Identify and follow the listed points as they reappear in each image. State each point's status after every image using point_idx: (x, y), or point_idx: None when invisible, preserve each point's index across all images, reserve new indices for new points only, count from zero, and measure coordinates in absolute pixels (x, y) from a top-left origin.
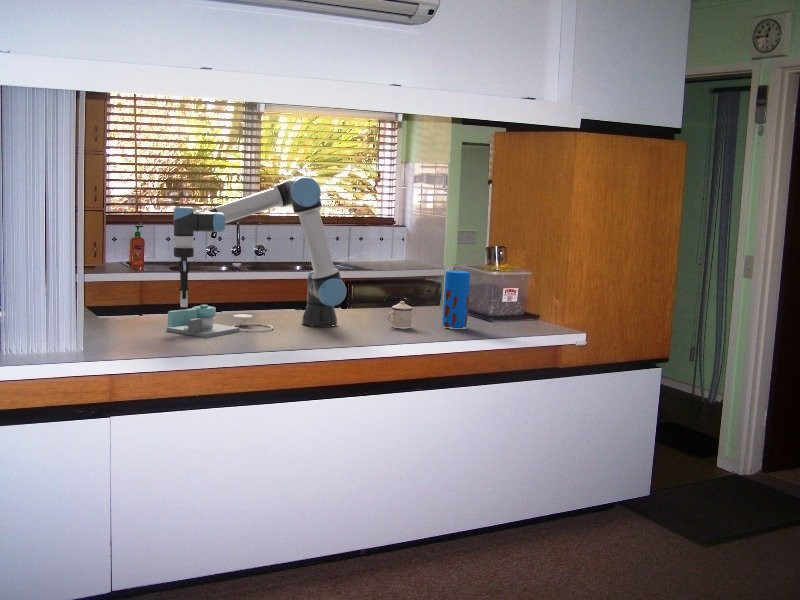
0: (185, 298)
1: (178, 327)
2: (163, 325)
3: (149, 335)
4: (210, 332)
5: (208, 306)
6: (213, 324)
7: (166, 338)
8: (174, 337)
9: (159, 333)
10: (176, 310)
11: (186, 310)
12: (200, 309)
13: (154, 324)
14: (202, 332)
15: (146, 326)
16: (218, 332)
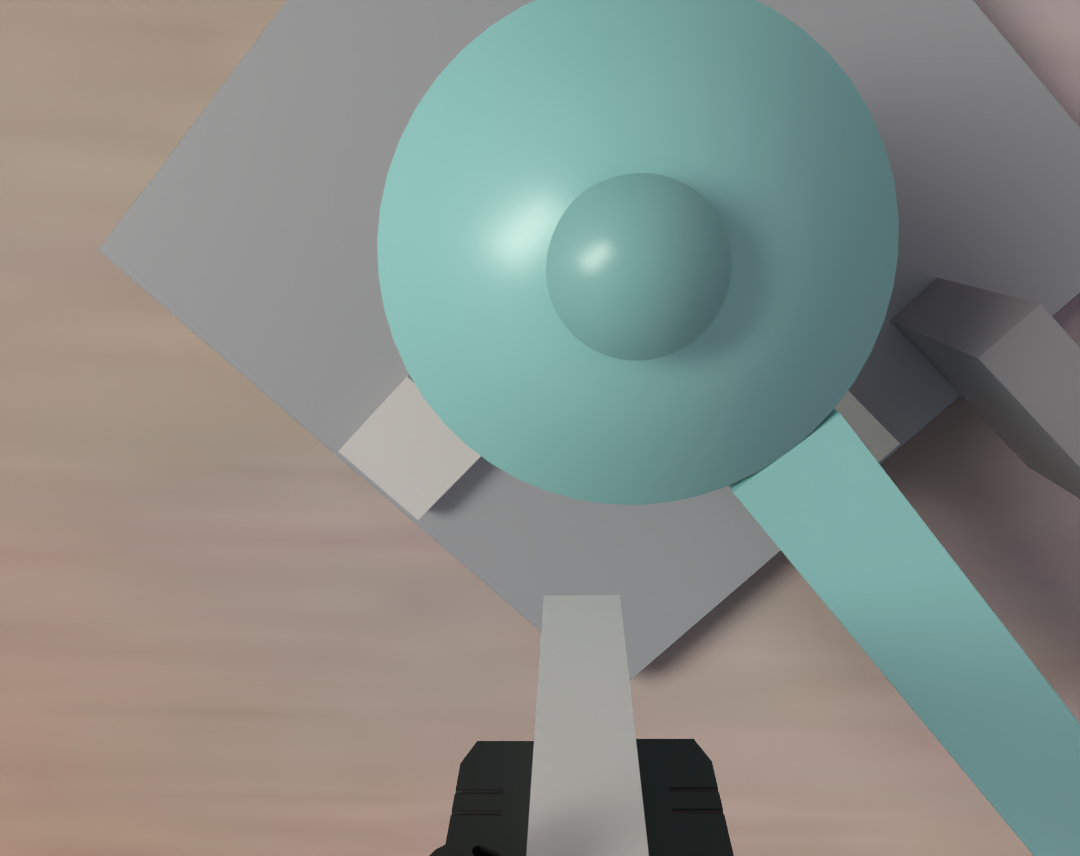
0: (702, 759)
1: (618, 564)
2: (227, 687)
3: (870, 826)
4: (1044, 152)
5: (425, 151)
6: (328, 67)
7: (1076, 677)
8: (1025, 596)
9: (752, 736)
10: (1000, 785)
11: (1002, 624)
12: (866, 352)
13: (178, 770)
14: (1028, 271)
15: (319, 843)
16: (980, 19)
